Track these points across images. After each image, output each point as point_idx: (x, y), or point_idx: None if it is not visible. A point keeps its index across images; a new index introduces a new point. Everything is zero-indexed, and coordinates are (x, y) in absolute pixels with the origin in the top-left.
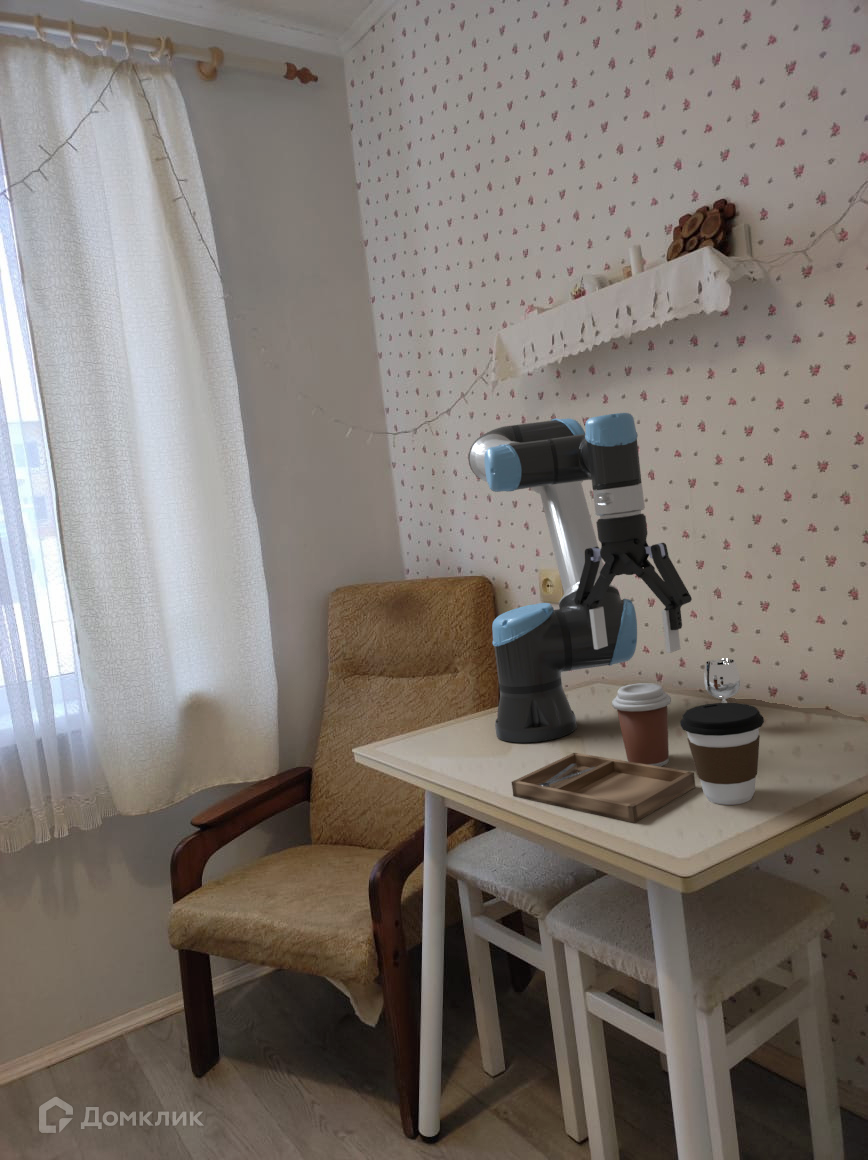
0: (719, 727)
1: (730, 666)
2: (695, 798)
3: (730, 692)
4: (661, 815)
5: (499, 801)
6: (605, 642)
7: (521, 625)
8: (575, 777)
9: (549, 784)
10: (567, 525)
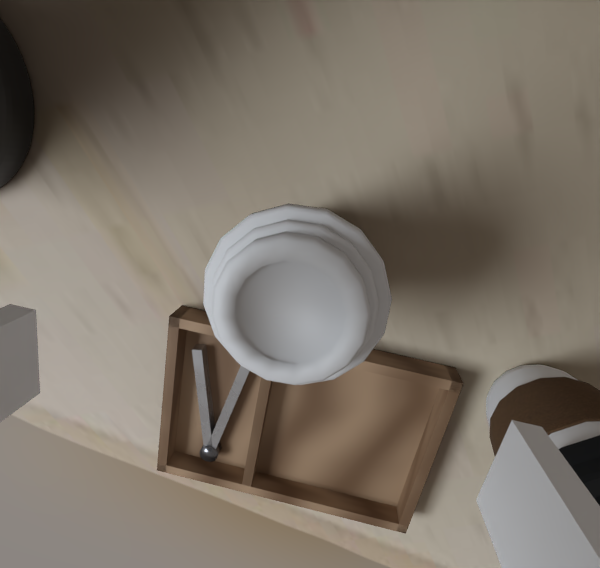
0: None
1: None
2: (468, 414)
3: None
4: (432, 481)
5: (162, 472)
6: (15, 336)
7: None
8: (251, 438)
9: (215, 449)
10: None
